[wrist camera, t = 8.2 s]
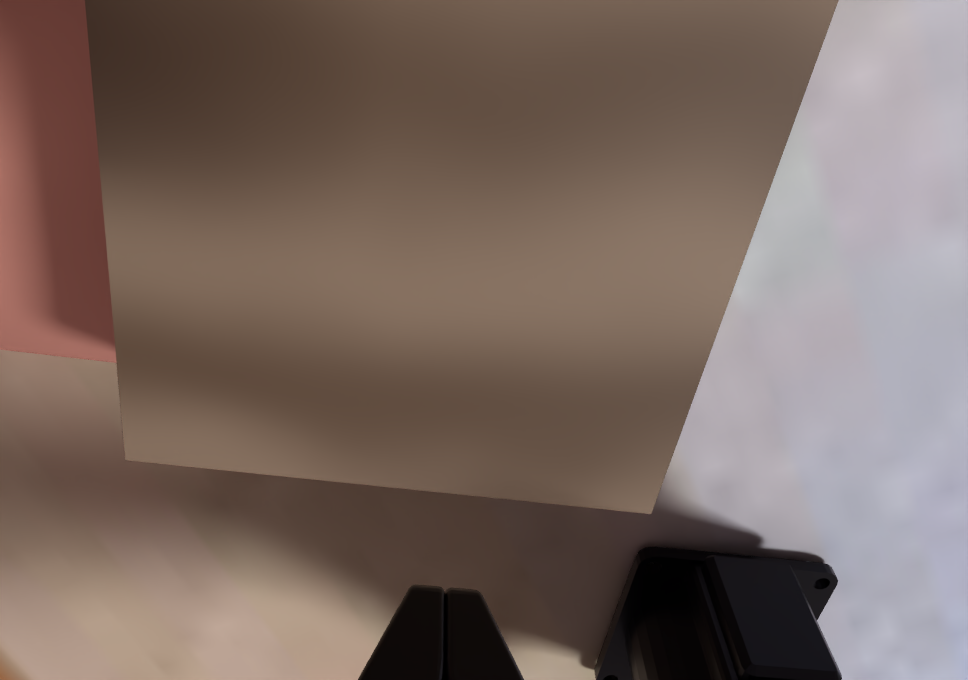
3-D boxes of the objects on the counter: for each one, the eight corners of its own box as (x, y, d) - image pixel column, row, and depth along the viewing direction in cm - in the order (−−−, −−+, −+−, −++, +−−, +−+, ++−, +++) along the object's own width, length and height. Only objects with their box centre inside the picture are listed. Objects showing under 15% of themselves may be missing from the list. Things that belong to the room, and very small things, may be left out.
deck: (622, 412, 23) (651, 514, 19) (178, 360, 21) (125, 459, 18) (894, -464, 13) (1044, -568, 10) (137, -651, 12) (11, -844, 9)
